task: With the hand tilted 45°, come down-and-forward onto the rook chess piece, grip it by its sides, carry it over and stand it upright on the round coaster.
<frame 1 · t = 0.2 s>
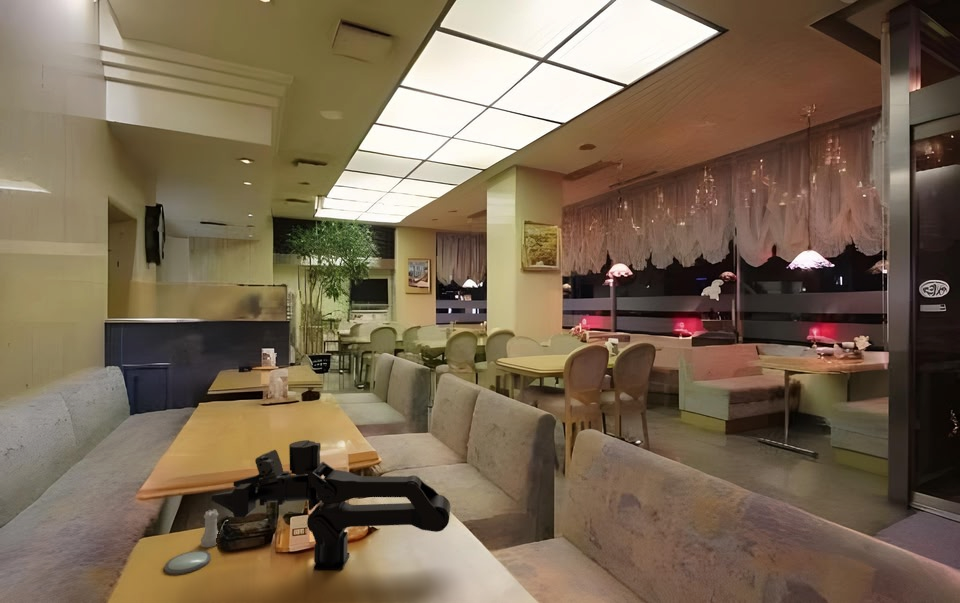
hand: (223, 490, 106), 17 cm above the table, tool horizontal, fingers open, 9 cm apart
coaster: (188, 563, 105), on the table
rook chess piece: (210, 544, 114), on the table
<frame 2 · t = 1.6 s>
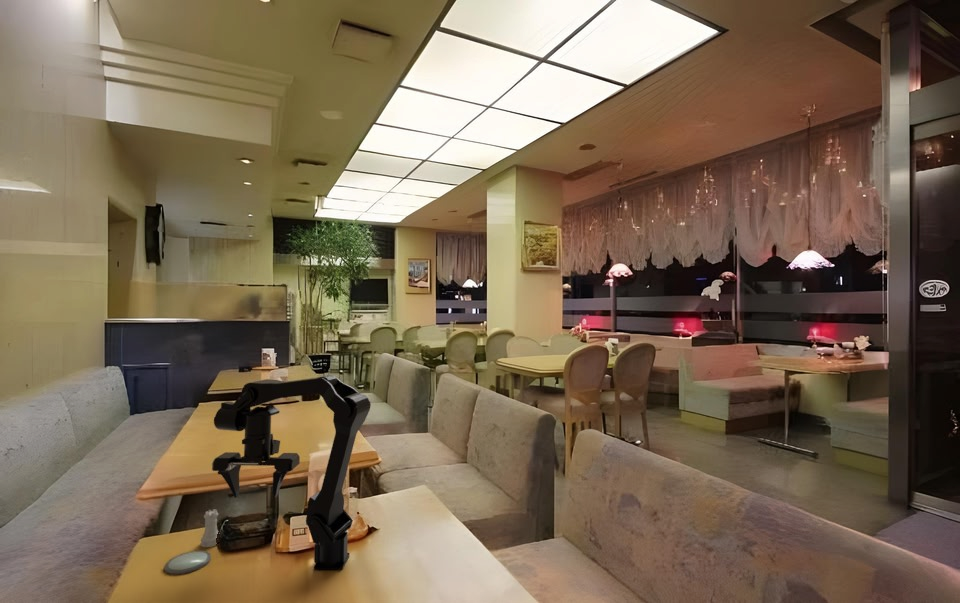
hand: (256, 497, 111), 13 cm above the table, tool pointing down, fingers open, 9 cm apart
nothing on the table moved.
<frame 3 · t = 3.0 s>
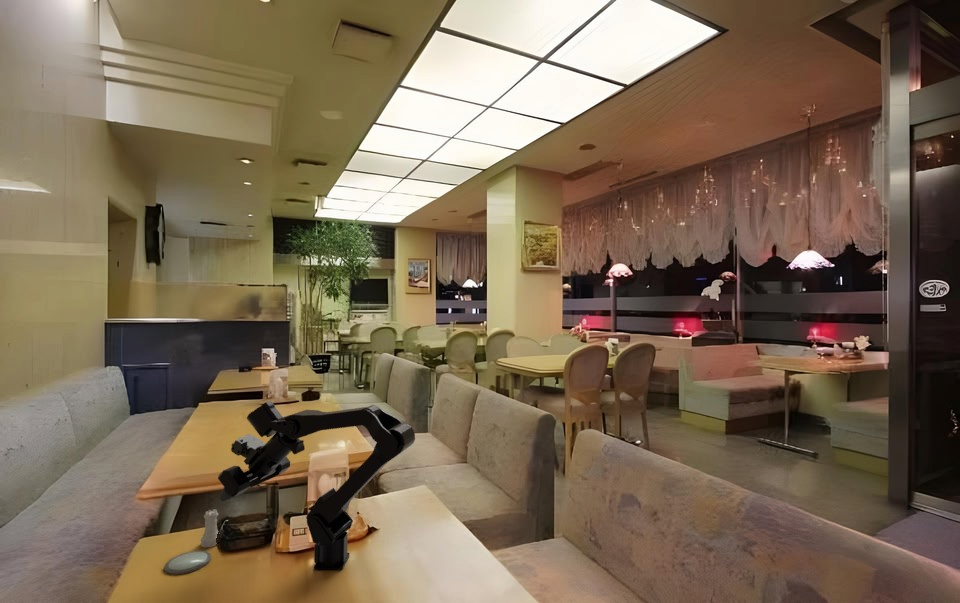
hand: (236, 492, 113), 13 cm above the table, tool tilted 45°, fingers open, 9 cm apart
nothing on the table moved.
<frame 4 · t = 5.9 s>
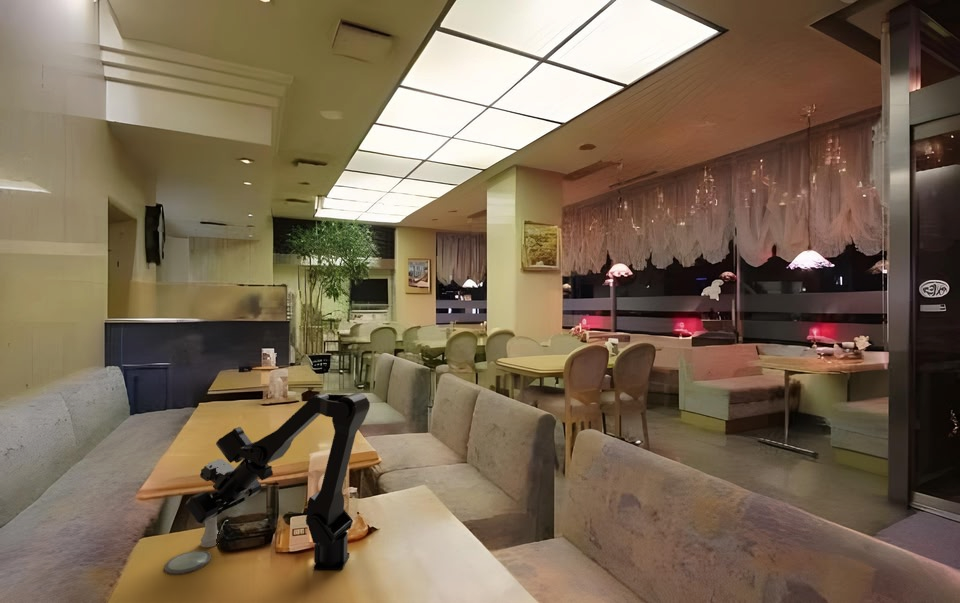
hand: (206, 516, 115), 7 cm above the table, tool tilted 45°, fingers closed on rook chess piece, 3 cm apart
rook chess piece: (210, 544, 114), on the table, touching gripper
when the fingers open (7 cm above the table, at t = 8.9 s): rook chess piece stays where it is, resting on coaster.
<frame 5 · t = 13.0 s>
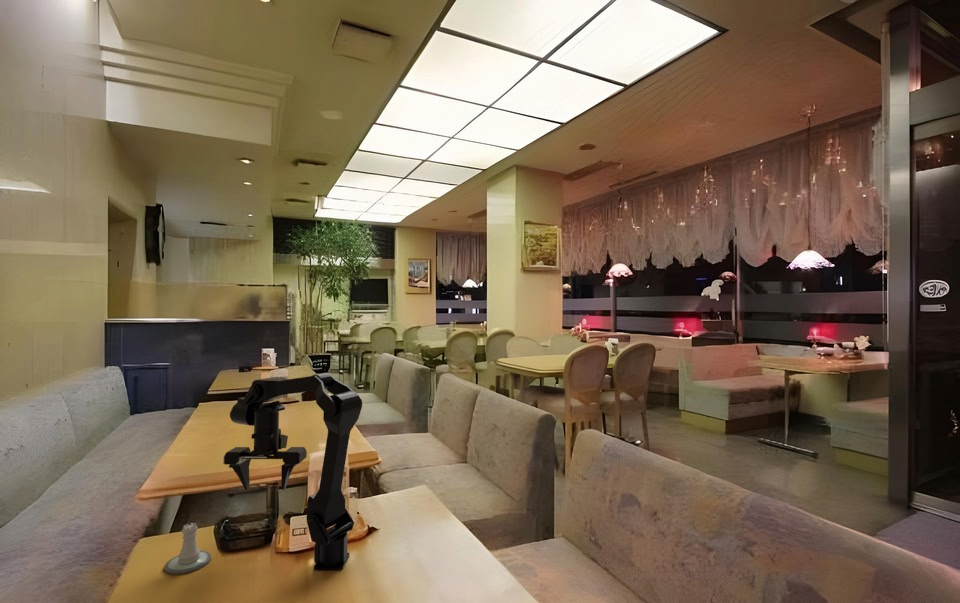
hand: (265, 489, 116), 13 cm above the table, tool pointing down, fingers open, 9 cm apart
rook chess piece: (189, 561, 105), point 1 cm above the table, touching coaster
at the end: rook chess piece inside the target area on the coaster (0.2 cm from its centre), point 0.5 cm above the coaster's base; rook chess piece tilted 0°; the gripper is holding nothing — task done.
